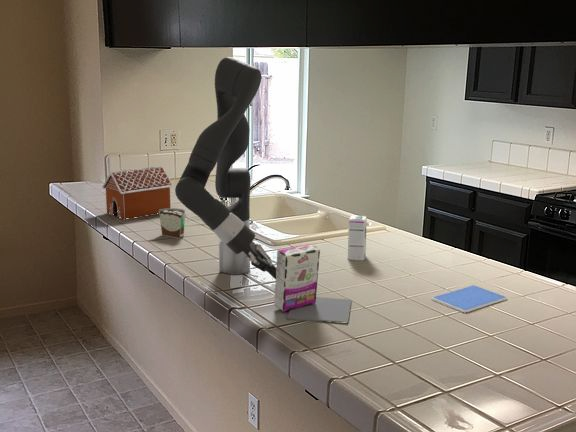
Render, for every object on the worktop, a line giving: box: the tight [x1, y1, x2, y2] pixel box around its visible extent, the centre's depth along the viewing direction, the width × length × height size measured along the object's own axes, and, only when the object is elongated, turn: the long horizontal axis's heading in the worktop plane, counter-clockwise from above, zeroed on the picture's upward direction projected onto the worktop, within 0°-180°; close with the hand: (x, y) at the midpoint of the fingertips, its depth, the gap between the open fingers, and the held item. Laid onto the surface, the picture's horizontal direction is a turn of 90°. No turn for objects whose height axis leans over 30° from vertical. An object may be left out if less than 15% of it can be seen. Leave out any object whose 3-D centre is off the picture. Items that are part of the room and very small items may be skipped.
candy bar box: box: [273, 243, 321, 313], centre depth 170 cm, size 11×5×16 cm, turn 124°
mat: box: [286, 296, 352, 323], centre depth 171 cm, size 16×16×1 cm
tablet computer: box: [431, 285, 508, 314], centre depth 180 cm, size 19×13×1 cm, turn 126°
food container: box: [157, 207, 188, 240], centre depth 240 cm, size 12×6×10 cm, turn 58°
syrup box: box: [347, 214, 367, 262], centre depth 215 cm, size 6×6×14 cm
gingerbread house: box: [101, 165, 174, 220], centre depth 274 cm, size 18×26×20 cm
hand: (279, 276), depth 171 cm, fingers closed
